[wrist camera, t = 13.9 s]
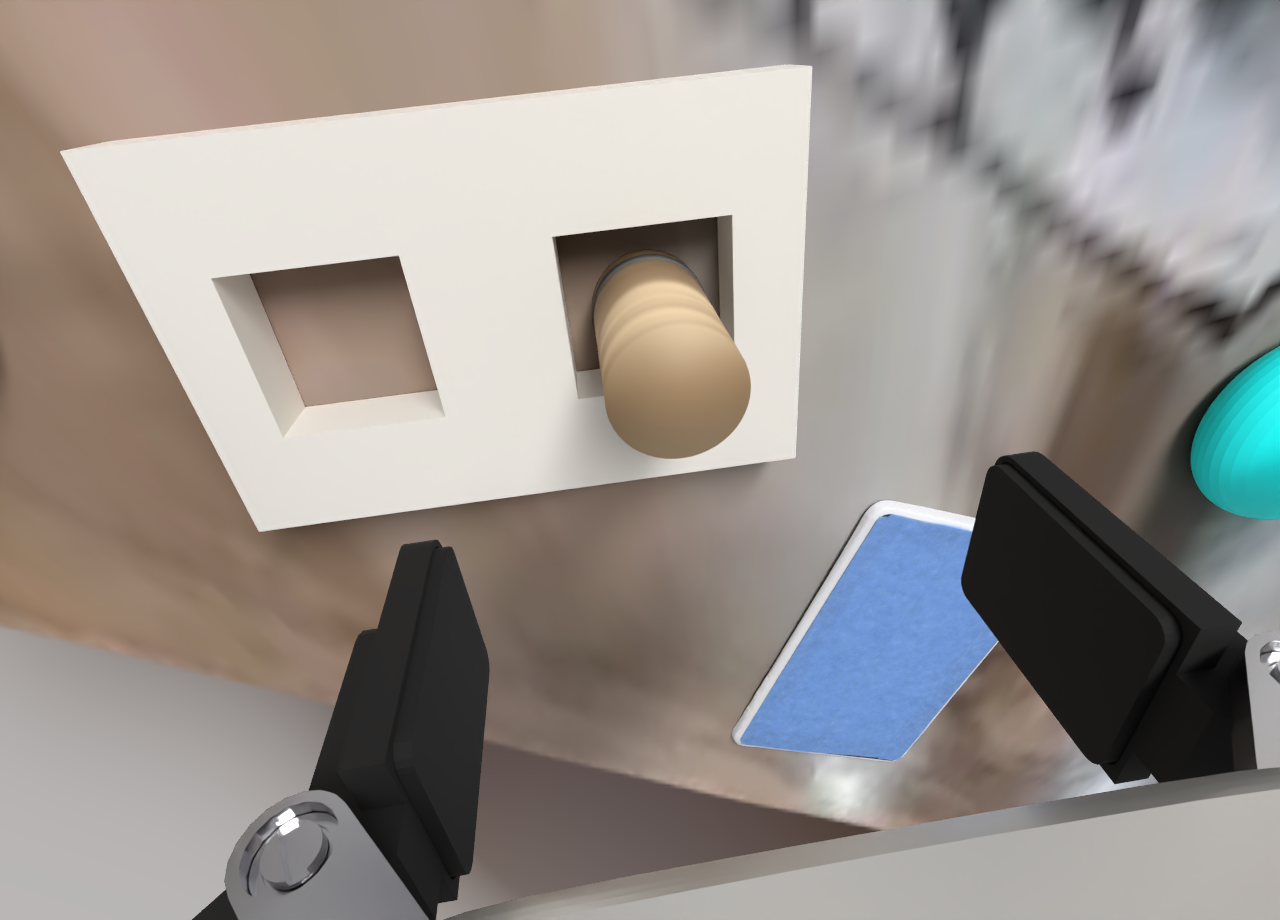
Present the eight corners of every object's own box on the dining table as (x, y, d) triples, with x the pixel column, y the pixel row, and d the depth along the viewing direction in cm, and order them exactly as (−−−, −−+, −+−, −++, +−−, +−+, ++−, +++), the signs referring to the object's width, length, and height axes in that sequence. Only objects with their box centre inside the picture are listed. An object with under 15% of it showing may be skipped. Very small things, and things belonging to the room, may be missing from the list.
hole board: (110, 140, 21) (59, 151, 19) (787, 64, 22) (811, 66, 20) (281, 495, 28) (258, 531, 26) (778, 428, 29) (795, 457, 27)
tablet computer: (891, 750, 45) (900, 768, 44) (723, 731, 42) (728, 750, 40) (1066, 533, 35) (1082, 549, 34) (866, 488, 32) (878, 504, 31)
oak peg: (582, 245, 24) (593, 334, 16) (691, 231, 24) (752, 314, 17) (596, 348, 26) (612, 469, 19) (696, 335, 26) (752, 450, 19)
